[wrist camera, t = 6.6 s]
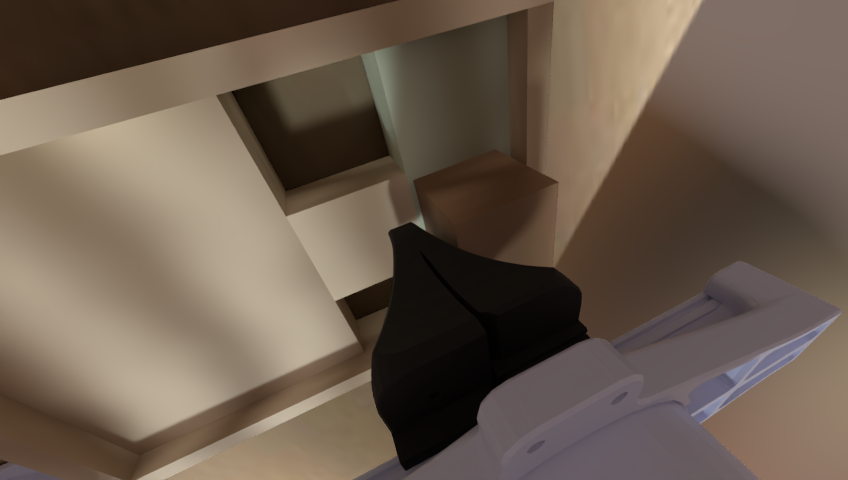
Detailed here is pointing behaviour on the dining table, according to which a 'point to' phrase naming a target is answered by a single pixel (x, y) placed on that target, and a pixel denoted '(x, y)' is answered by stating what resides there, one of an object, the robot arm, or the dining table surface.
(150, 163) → the box
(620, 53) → the dining table surface
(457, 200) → the walnut block
